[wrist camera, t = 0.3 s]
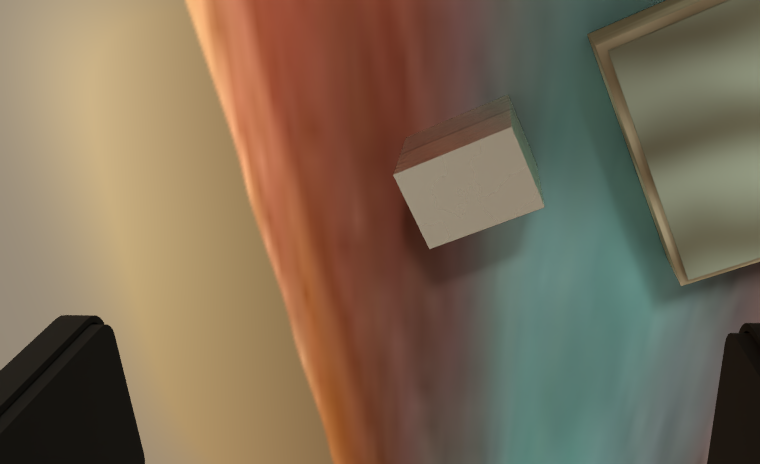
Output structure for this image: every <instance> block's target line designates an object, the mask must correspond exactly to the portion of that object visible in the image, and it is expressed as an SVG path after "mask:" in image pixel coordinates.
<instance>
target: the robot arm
mask: <svg viewBox="0 0 760 464" xmlns="http://www.w3.org/2000/svg"><path fill="white" fill-rule="evenodd" d="M0 464H145V458H144V453H143V448H142V444H141V440H140V436H139V432H138V428H137V424H136V420H135V416H134V412H133V408H132V404H131V400H130V396H129V392H128V388H127V384H126V379H125V375H124V372H123V367H122V363H121V359H120V355H119V351H118V347H117V343H116V339H115V335H114V332H113V329H112V328H111V327H110V326H109V325H104V322H103V321H102V320H101V319H100V318H99V317H98V316H82V315H81V316H79V315H73V316H72V315H65V316H60V317H58V318H57V319H55V320H54V321H53V322H52V323H51V324H50V325H49V326H48V327H47V328H46V329H45V330H44V331H43V332H42V333H40V334H39V335H38V336H37V337H36V338H35V339H34V340H33V341H32V342H31V343H30V344H28V346H26V347H25V348H24V349H23V350H22V351H21V352H20V353H19V354H18V355H17V356H16V357H14V358H13V360H12V361H10V362H9V363H8V364H7V365H6V366H5V367H4V368H3V369H2V370H0ZM707 464H760V323H745V324H743V325H742V327H741V329H740V331H739V333H730V334H728V336H727V338H726V342H725V347H724V354H723V361H722V367H721V374H720V381H719V388H718V394H717V401H716V408H715V415H714V421H713V428H712V435H711V441H710V448H709V455H708V462H707Z"/></svg>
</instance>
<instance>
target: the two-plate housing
mask: <svg viewBox="0 0 760 464" xmlns="http://www.w3.org/2000/svg"><path fill="white" fill-rule="evenodd" d="M393 176H394V178H395V180H396V182H397V184H398V186H399V188H400V190H401V192H402V194H403V196H404V198H405V200H406V202H407V204H408V206H409V208H410V210H411V212H412V215H413V217H414V219H415V221H416V223H417V225H418V227H419V229H420V231H421V233H422V235H423V237H424V239H425V241H426V243H427V245H428V247H429V249H432V248H434V247H437V246H440V245H442V244H445V243H448V242H451V241H453V240H456V239H459V238H462V237H464V236H467V235H470V234H473V233H475V232H478V231H481V230H484V229H486V228H489V227H492V226H495V225H497V224H500V223H503V222H505V221H508V220H511V219H514V218H516V217H519V216H522V215H525V214H527V213H530V212H533V211H536V210H538V209H541V208H544V207H545V205H544V200H543V195H542V189H541V184H540V178H539V173H538V168H537V164H536V161H535V159H534V156H533V154H532V152H531V149H530V147H529V144H528V142H527V139H526V137H525V134H524V132H523V130H522V127H521V125H520V122H519V120H518V117H517V115H516V112H515V110H514V108H513V105H512V103H511V100H510V98H509V95H506V96H503V97H501V98H499V99H496V100H494V101H492V102H489V103H487V104H484V105H482V106H480V107H477V108H475V109H473V110H470V111H468V112H465V113H463V114H461V115H458V116H456V117H454V118H451V119H449V120H446V121H444V122H442V123H439V124H437V125H435V126H432V127H430V128H427V129H425V130H423V131H420V132H418V133H416V134H413V135H411V136H408V137H406V139H405V142H404V145H403V148H402V151H401V154H400V156H399V159H398V162H397V165H396V168H395V171H394V174H393Z"/></svg>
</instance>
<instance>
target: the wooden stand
mask: <svg viewBox="0 0 760 464" xmlns="http://www.w3.org/2000/svg"><path fill="white" fill-rule="evenodd" d="M587 35H588V38H589V41H590V44H591V46H592V49H593V52H594V55H595V58H596V60H597V63H598V66H599V69H600V72H601V74H602V77H603V80H604V83H605V86H606V88H607V91H608V94H609V97H610V100H611V102H612V105H613V108H614V111H615V114H616V116H617V119H618V122H619V125H620V128H621V130H622V133H623V136H624V139H625V142H626V144H627V147H628V150H629V153H630V156H631V158H632V161H633V164H634V167H635V170H636V172H637V175H638V178H639V181H640V183H641V186H642V189H643V192H644V195H645V197H646V200H647V203H648V206H649V209H650V211H651V214H652V217H653V220H654V223H655V225H656V228H657V231H658V234H659V237H660V239H661V242H662V245H663V248H664V251H665V253H666V256H667V259H668V261H669V263H670V265H671V267H672V269H673V271H674V273H675V275H676V277H677V279H678V281H679V283H680V285H681V286H683V285H686V284H690V283H693V282H696V281H699V280H702V279H706V278H709V277H712V276H715V275H718V274H722V273H725V272H728V271H731V270H734V269H738V268H741V267H744V266H747V265H750V264H754V263H757V262H760V0H666V1H663V2H661V3H659V4H656V5H654V6H652V7H650V8H647V9H645V10H643V11H640V12H638V13H636V14H633V15H631V16H629V17H626V18H624V19H622V20H619V21H617V22H615V23H612V24H610V25H608V26H606V27H603V28H601V29H599V30H596V31H594V32H592V33H589V34H587Z"/></svg>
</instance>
